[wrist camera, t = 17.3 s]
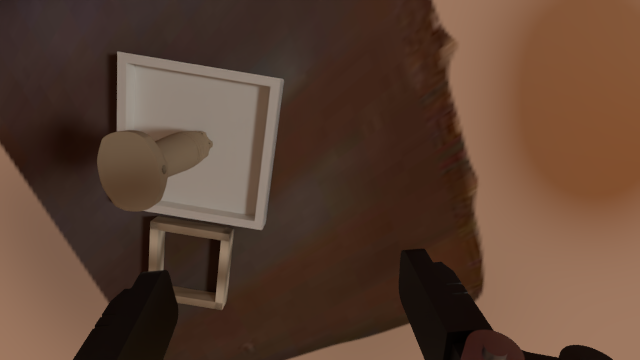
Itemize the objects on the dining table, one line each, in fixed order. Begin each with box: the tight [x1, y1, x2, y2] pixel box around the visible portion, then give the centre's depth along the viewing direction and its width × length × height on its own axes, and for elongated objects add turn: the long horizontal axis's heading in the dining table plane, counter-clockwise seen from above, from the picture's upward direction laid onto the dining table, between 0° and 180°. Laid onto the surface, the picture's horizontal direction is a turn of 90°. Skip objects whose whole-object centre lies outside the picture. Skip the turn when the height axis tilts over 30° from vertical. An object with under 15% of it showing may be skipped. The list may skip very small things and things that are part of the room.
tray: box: [117, 52, 284, 230], centre depth 41 cm, size 18×18×2 cm
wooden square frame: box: [149, 216, 234, 310], centre depth 45 cm, size 11×10×2 cm
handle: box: [97, 130, 213, 211], centre depth 34 cm, size 5×6×15 cm
